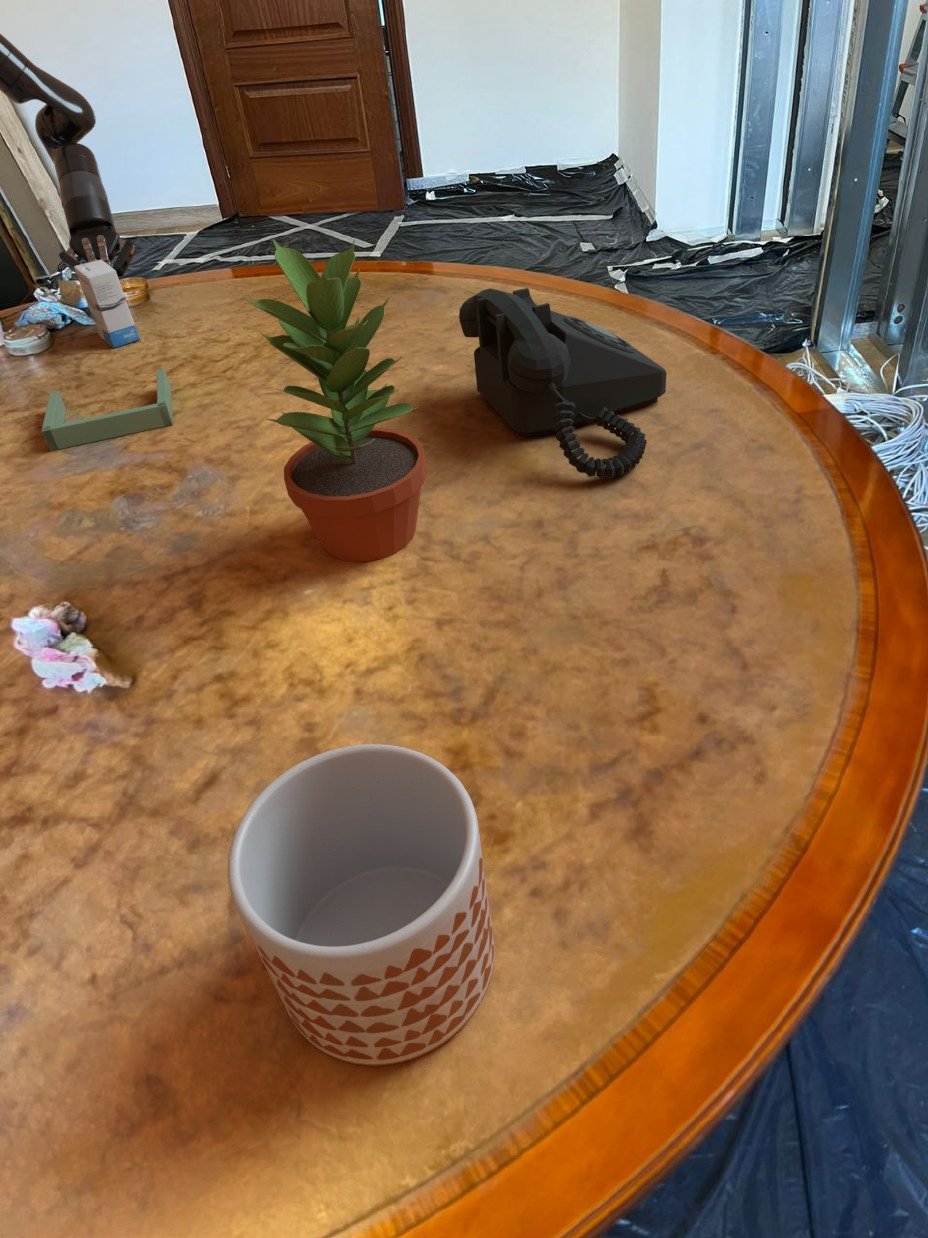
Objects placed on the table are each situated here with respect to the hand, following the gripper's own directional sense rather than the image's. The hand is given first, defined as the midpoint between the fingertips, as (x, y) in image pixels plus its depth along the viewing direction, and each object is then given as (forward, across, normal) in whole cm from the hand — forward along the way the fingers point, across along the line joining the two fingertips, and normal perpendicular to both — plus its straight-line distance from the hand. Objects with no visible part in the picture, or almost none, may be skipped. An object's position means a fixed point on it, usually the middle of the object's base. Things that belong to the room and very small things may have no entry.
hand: (109, 299), depth 147 cm
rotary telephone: (+52, -59, +44) cm, 90 cm away
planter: (+96, -20, +89) cm, 132 cm away
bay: (+30, 0, +23) cm, 38 cm away
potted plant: (+62, -29, +55) cm, 88 cm away
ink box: (+7, 0, 0) cm, 7 cm away
